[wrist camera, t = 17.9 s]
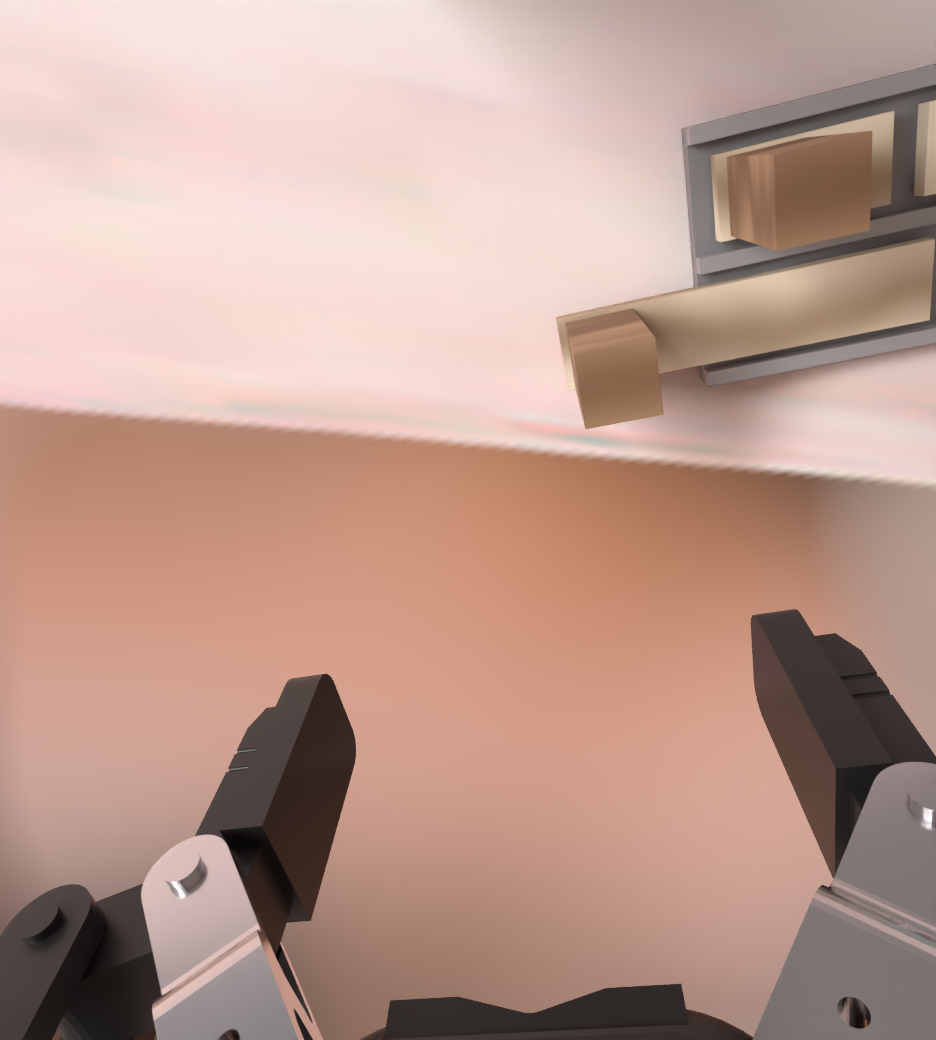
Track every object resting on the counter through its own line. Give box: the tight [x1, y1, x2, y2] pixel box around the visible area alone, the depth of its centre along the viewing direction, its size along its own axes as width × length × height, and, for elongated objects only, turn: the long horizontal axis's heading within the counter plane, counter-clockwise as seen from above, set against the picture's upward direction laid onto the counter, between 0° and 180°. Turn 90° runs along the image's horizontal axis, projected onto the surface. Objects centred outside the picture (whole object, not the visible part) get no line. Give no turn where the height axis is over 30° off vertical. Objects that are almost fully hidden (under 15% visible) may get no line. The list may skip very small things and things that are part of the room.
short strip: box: [710, 111, 894, 251], centre depth 31 cm, size 4×8×8 cm, turn 103°
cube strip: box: [556, 237, 935, 429], centre depth 34 cm, size 4×19×8 cm, turn 103°
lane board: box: [682, 64, 936, 387], centre depth 35 cm, size 13×21×2 cm, turn 103°
